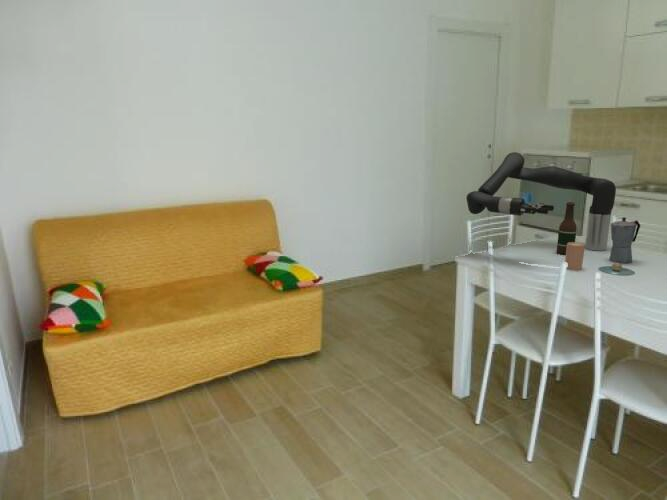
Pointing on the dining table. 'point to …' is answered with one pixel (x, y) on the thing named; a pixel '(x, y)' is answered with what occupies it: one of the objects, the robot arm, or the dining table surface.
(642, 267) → the dining table surface
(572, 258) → the cup
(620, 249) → the moka pot
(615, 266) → the ball
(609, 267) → the plate
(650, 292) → the dining table surface
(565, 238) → the beer bottle
